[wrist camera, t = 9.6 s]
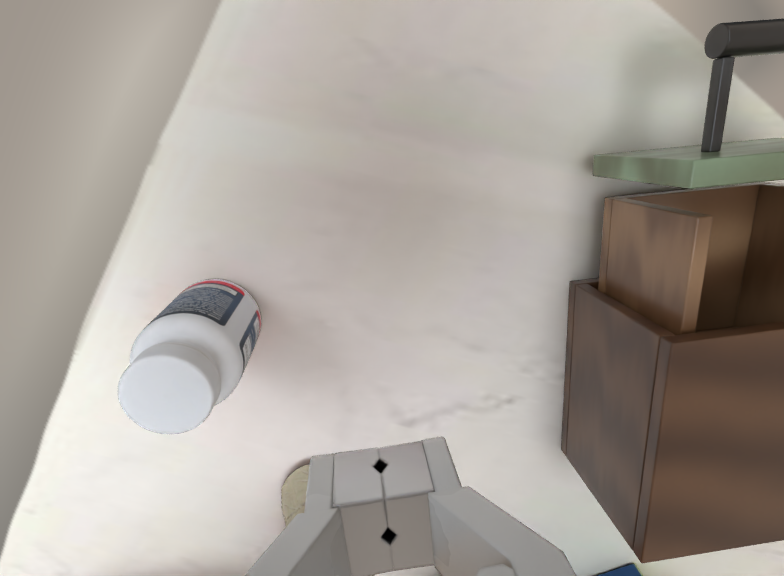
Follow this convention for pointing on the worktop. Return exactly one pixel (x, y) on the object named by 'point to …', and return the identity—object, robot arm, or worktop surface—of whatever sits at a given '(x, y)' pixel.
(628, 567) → the protein box
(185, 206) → the worktop surface
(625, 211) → the drawer
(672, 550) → the cabinet
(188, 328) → the pill bottle
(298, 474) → the figurine
